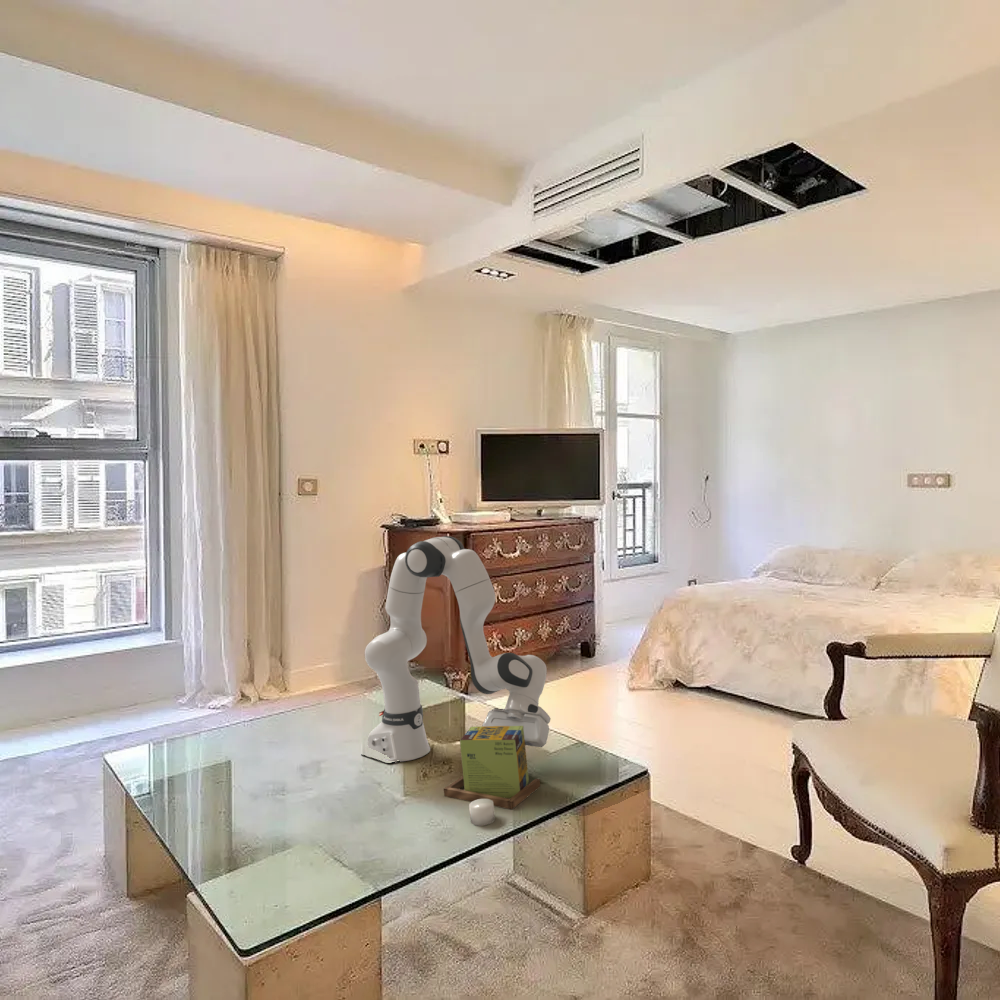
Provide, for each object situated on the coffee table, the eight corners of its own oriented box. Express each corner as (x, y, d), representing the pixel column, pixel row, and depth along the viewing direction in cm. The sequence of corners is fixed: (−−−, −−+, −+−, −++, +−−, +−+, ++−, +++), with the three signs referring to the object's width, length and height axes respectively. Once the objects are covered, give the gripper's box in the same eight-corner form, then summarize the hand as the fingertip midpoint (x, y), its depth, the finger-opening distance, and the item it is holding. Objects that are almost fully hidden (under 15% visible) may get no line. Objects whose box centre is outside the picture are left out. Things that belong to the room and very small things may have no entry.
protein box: (521, 798, 190) (515, 739, 189) (464, 797, 193) (458, 739, 193) (529, 781, 200) (524, 725, 199) (475, 780, 204) (469, 725, 203)
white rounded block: (465, 823, 179) (464, 807, 179) (479, 812, 184) (478, 797, 184) (485, 827, 176) (484, 811, 176) (499, 816, 181) (498, 801, 181)
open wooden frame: (444, 795, 196) (443, 788, 196) (475, 775, 208) (474, 768, 208) (512, 809, 184) (511, 801, 184) (540, 786, 196) (539, 779, 196)
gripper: (485, 702, 213) (469, 748, 205) (546, 708, 202) (532, 757, 194) (495, 712, 217) (480, 757, 209) (555, 719, 206) (542, 767, 198)
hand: (505, 757), depth 202 cm, fingers closed
